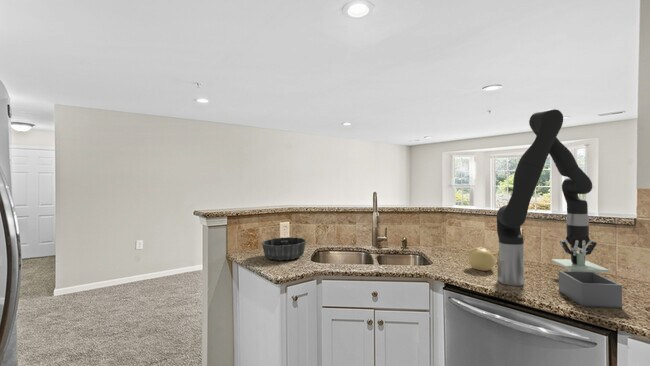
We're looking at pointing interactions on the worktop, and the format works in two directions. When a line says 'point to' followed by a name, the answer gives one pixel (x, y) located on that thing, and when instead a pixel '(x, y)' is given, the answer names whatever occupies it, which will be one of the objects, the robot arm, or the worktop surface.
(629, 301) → the worktop surface
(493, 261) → the sculpture
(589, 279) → the tub
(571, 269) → the lid
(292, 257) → the bundt pan
